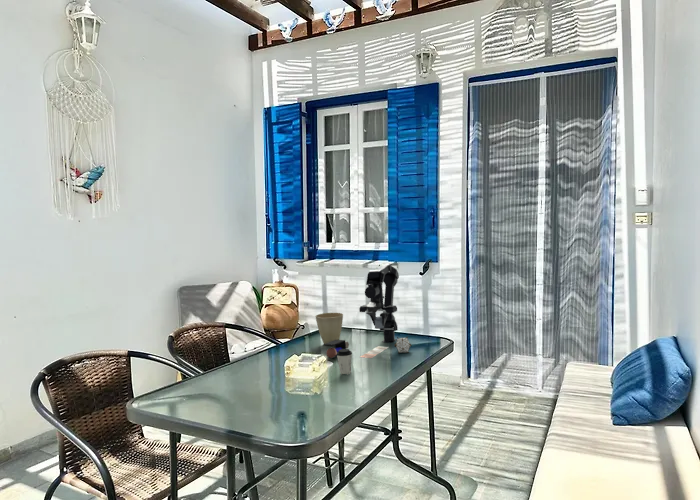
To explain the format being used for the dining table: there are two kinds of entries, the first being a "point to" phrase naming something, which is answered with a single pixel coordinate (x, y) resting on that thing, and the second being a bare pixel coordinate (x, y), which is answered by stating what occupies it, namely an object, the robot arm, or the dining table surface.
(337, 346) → the figurine character
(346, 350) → the coffee cup
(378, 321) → the pawn
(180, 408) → the dining table surface
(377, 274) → the robot arm
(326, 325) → the plant pot
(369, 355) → the board
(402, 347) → the game die
